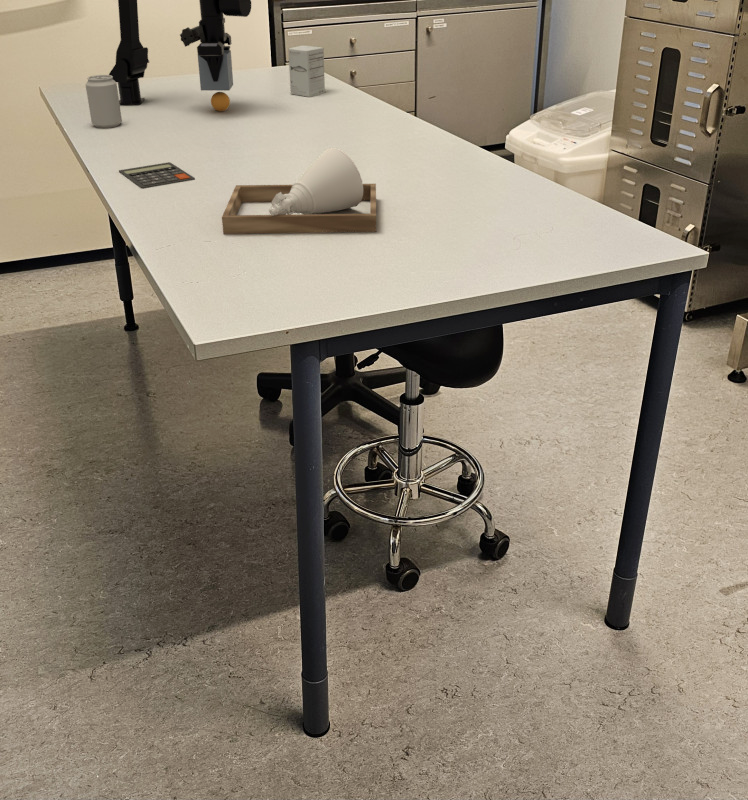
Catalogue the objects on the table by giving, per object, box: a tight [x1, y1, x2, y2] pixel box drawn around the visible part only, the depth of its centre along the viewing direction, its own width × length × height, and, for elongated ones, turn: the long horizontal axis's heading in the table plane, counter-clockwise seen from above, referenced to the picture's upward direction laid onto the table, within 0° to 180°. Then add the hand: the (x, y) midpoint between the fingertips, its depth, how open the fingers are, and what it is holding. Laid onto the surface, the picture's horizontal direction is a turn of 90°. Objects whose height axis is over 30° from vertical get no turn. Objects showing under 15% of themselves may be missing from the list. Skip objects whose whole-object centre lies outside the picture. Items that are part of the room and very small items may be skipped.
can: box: [85, 74, 123, 129], centre depth 232 cm, size 8×8×12 cm
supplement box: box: [288, 44, 326, 98], centre depth 262 cm, size 7×7×13 cm
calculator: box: [118, 162, 196, 189], centre depth 195 cm, size 12×1×15 cm
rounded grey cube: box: [197, 49, 234, 92], centre depth 242 cm, size 8×8×9 cm
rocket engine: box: [268, 147, 364, 216], centre depth 167 cm, size 12×12×18 cm
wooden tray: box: [221, 183, 377, 235], centre depth 170 cm, size 19×27×3 cm
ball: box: [210, 91, 231, 112], centre depth 246 cm, size 5×5×5 cm
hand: (217, 78), depth 243 cm, fingers closed on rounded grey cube, 7 cm apart
